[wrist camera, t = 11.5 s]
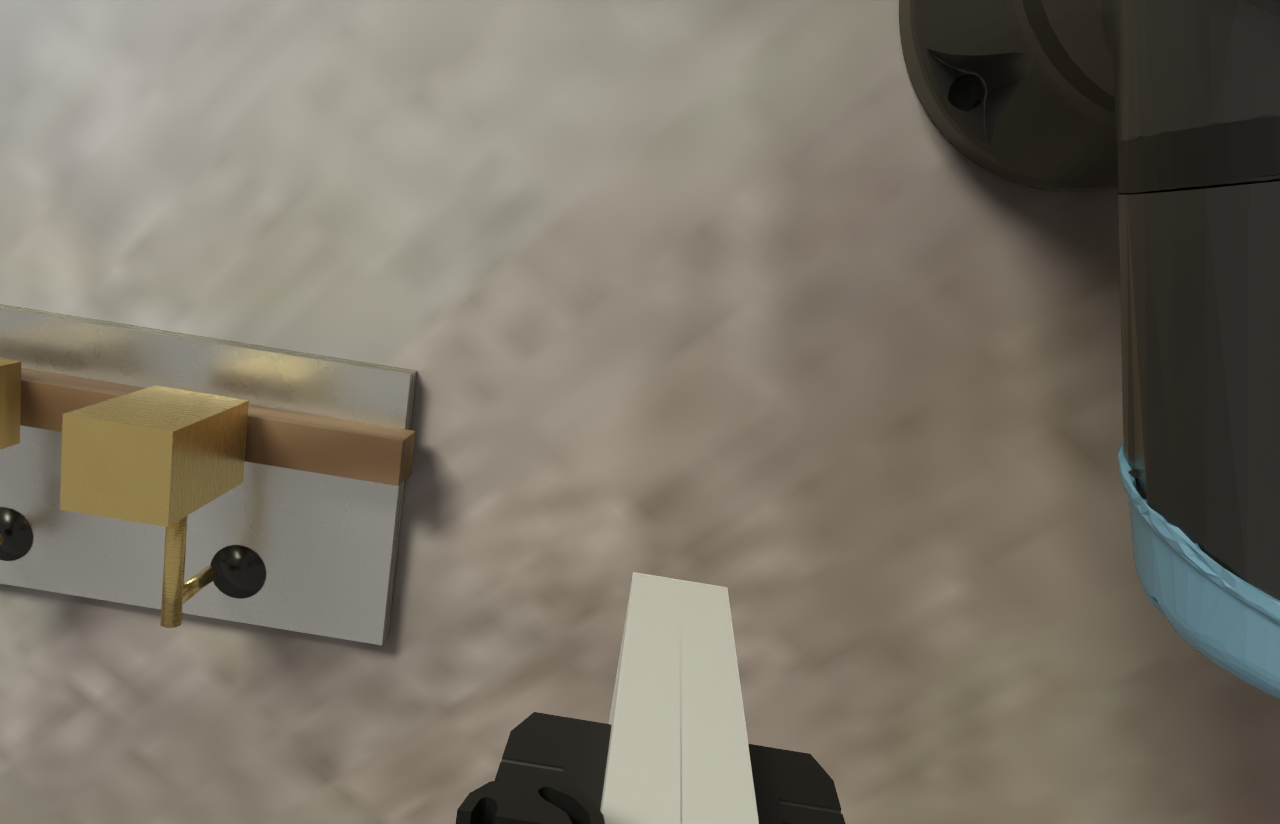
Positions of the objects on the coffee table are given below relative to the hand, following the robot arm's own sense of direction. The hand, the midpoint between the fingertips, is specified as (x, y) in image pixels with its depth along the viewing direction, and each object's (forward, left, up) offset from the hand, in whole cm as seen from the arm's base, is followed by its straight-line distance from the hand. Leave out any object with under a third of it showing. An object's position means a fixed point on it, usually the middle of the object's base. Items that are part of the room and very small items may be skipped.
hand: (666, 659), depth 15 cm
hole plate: (+8, -22, -27) cm, 36 cm away
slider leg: (+8, -20, -26) cm, 33 cm away
